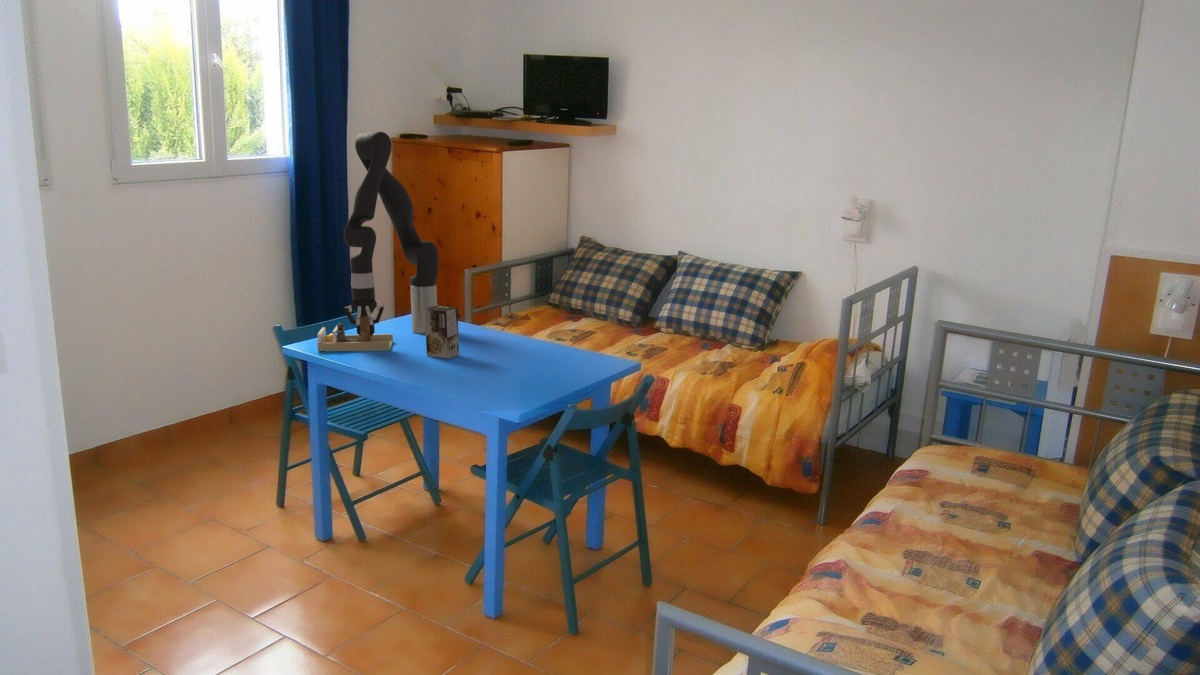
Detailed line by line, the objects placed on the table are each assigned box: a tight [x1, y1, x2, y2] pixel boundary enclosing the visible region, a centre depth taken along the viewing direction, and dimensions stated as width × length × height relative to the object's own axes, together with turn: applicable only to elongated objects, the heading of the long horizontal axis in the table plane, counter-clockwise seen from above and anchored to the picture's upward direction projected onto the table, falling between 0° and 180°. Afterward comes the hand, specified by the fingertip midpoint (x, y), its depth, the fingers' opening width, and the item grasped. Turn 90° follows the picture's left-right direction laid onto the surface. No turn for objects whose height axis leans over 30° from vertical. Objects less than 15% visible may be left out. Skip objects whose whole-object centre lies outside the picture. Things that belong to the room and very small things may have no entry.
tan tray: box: [317, 333, 394, 352], centre depth 319 cm, size 24×12×3 cm, turn 97°
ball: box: [327, 332, 338, 343], centre depth 318 cm, size 4×4×4 cm
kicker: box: [336, 315, 372, 342], centre depth 318 cm, size 11×6×10 cm, turn 97°
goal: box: [316, 325, 339, 344], centre depth 317 cm, size 6×10×6 cm, turn 7°
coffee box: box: [425, 304, 460, 360], centre depth 307 cm, size 9×6×16 cm
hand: (365, 335), depth 319 cm, fingers closed on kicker, 3 cm apart
